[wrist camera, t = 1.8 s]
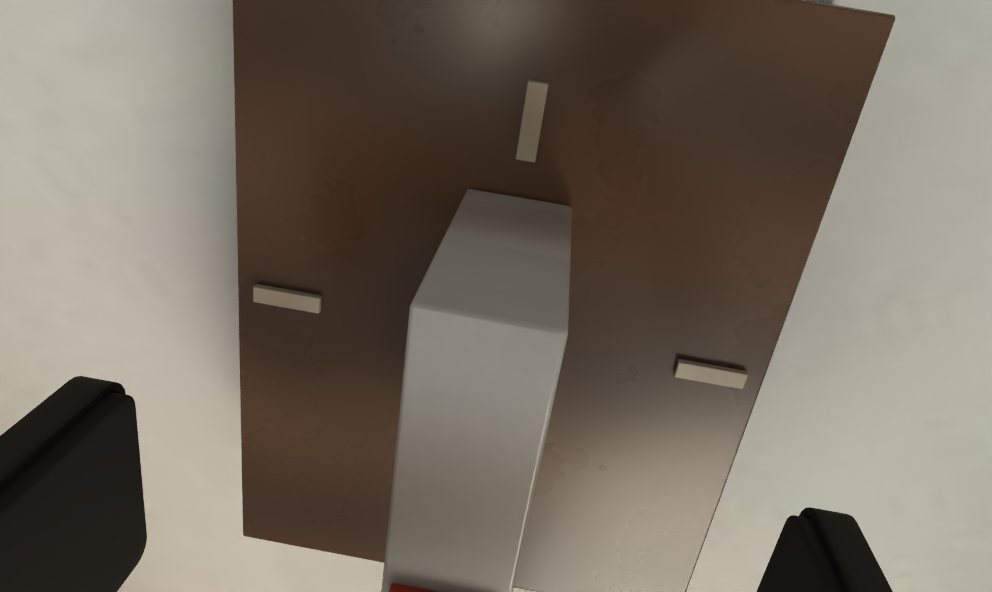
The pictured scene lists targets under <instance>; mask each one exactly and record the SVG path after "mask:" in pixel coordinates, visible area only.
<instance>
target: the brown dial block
mask: <svg viewBox="0 0 992 592" xmlns="http://www.w3.org/2000/svg"><path fill="white" fill-rule="evenodd" d="M894 21H895V16H894V15H890V14H884V13H879V12H873V11H867V10H861V9H855V8H849V7H844V6H838V5H832V4H825V3H819V2H813V1H807V0H233V32H234V83H235V134H236V185H237V237H238V288H239V339H240V390H241V441H242V492H243V535H244V536H247V537H253V538H258V539H263V540H268V541H274V542H279V543H284V544H289V545H295V546H300V547H305V548H310V549H316V550H321V551H326V552H331V553H337V554H342V555H347V556H352V557H358V558H363V559H368V560H374V561H379V562H384V561H385V551H386V541H387V531H388V521H389V511H390V501H391V491H392V481H393V471H394V461H395V451H396V441H397V431H398V421H399V411H400V401H401V391H402V381H403V371H404V361H405V351H406V341H407V331H408V321H409V311H410V305H411V303H412V301H413V299H414V297H415V295H416V293H417V291H418V289H419V287H420V285H421V283H422V280H423V278H424V276H425V274H426V272H427V270H428V268H429V266H430V264H431V262H432V260H433V258H434V256H435V254H436V252H437V250H438V248H439V246H440V244H441V242H442V240H443V238H444V236H445V234H446V232H447V230H448V228H449V226H450V224H451V222H452V220H453V218H454V216H455V213H456V211H457V209H458V207H459V205H460V203H461V201H462V199H463V197H464V195H465V193H466V191H467V190H468V189H473V190H479V191H485V192H490V193H496V194H502V195H508V196H514V197H520V198H525V199H531V200H537V201H543V202H549V203H555V204H561V205H566V206H570V207H571V208H572V223H571V255H570V287H569V319H568V336H567V341H566V346H565V350H564V355H563V360H562V364H561V369H560V374H559V378H558V383H557V388H556V392H555V397H554V402H553V406H552V411H551V416H550V420H549V425H548V430H547V434H546V439H545V444H544V448H543V453H542V458H541V462H540V467H539V472H538V476H537V481H536V486H535V490H534V495H533V500H532V504H531V509H530V514H529V518H528V523H527V528H526V532H525V537H524V542H523V546H522V551H521V556H520V560H519V565H518V570H517V574H516V579H515V583H514V587H515V588H521V589H526V590H531V591H536V592H686V590H687V587H688V584H689V582H690V579H691V576H692V574H693V571H694V568H695V565H696V563H697V560H698V557H699V554H700V552H701V549H702V546H703V543H704V541H705V538H706V535H707V532H708V530H709V527H710V524H711V522H712V519H713V516H714V513H715V511H716V508H717V505H718V502H719V500H720V497H721V494H722V491H723V489H724V486H725V483H726V480H727V478H728V475H729V472H730V470H731V467H732V464H733V461H734V459H735V456H736V453H737V450H738V448H739V445H740V442H741V439H742V437H743V434H744V431H745V428H746V426H747V423H748V420H749V418H750V415H751V412H752V409H753V407H754V404H755V401H756V398H757V396H758V393H759V390H760V387H761V385H762V382H763V379H764V376H765V374H766V371H767V368H768V366H769V363H770V360H771V357H772V355H773V352H774V349H775V346H776V344H777V341H778V338H779V335H780V333H781V330H782V327H783V324H784V322H785V319H786V316H787V314H788V311H789V308H790V305H791V303H792V300H793V297H794V294H795V292H796V289H797V286H798V283H799V281H800V278H801V275H802V272H803V270H804V267H805V264H806V262H807V259H808V256H809V253H810V251H811V248H812V245H813V242H814V240H815V237H816V234H817V231H818V229H819V226H820V223H821V221H822V218H823V215H824V212H825V210H826V207H827V204H828V201H829V199H830V196H831V193H832V190H833V188H834V185H835V182H836V179H837V177H838V174H839V171H840V169H841V166H842V163H843V160H844V158H845V155H846V152H847V149H848V147H849V144H850V141H851V138H852V136H853V133H854V130H855V127H856V125H857V122H858V119H859V117H860V114H861V111H862V108H863V106H864V103H865V100H866V97H867V95H868V92H869V89H870V86H871V84H872V81H873V78H874V75H875V73H876V70H877V67H878V65H879V62H880V59H881V56H882V54H883V51H884V48H885V45H886V43H887V40H888V37H889V34H890V32H891V29H892V26H893V23H894Z"/></svg>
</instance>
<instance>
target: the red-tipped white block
mask: <svg viewBox="0 0 992 592" xmlns="http://www.w3.org/2000/svg"><path fill="white" fill-rule="evenodd" d="M571 223H572V208H571V207H570V206H566V205H561V204H555V203H549V202H543V201H537V200H531V199H525V198H520V197H514V196H508V195H502V194H496V193H490V192H485V191H479V190H473V189H468V190H467V191H466V193H465V195H464V197H463V199H462V201H461V203H460V205H459V207H458V209H457V211H456V213H455V216H454V218H453V220H452V222H451V224H450V226H449V228H448V230H447V232H446V234H445V236H444V238H443V240H442V242H441V244H440V246H439V248H438V250H437V252H436V254H435V256H434V258H433V260H432V262H431V264H430V266H429V268H428V270H427V272H426V274H425V276H424V278H423V280H422V283H421V285H420V287H419V289H418V291H417V293H416V295H415V297H414V299H413V301H412V303H411V305H410V311H409V321H408V331H407V341H406V351H405V361H404V371H403V381H402V391H401V401H400V411H399V421H398V431H397V441H396V451H395V461H394V471H393V481H392V491H391V501H390V511H389V521H388V531H387V541H386V551H385V561H384V571H383V581H382V591H381V592H513V588H514V583H515V579H516V574H517V570H518V565H519V560H520V556H521V551H522V546H523V542H524V537H525V532H526V528H527V523H528V518H529V514H530V509H531V504H532V500H533V495H534V490H535V486H536V481H537V476H538V472H539V467H540V462H541V458H542V453H543V448H544V444H545V439H546V434H547V430H548V425H549V420H550V416H551V411H552V406H553V402H554V397H555V392H556V388H557V383H558V378H559V374H560V369H561V364H562V360H563V355H564V350H565V346H566V341H567V336H568V319H569V287H570V255H571Z"/></svg>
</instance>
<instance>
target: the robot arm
mask: <svg viewBox="0 0 992 592" xmlns="http://www.w3.org/2000/svg"><path fill="white" fill-rule="evenodd" d="M146 540H147V533H146V522H145V511H144V499H143V488H142V476H141V465H140V454H139V442H138V431H137V419H136V408H135V402H134V399H133V398H132V397H131V396H129V395H126V393H125V389H124V388H123V386H122V385H121V384H119V383H116V382H110V381H105V380H99V379H94V378H88V377H83V376H79V377H74V378H73V379H71V380H69V381H68V382H67V383H65V384H64V385H63V386H62V387H60V388H59V389H58V390H57V391H56V392H54V393H53V394H52V395H51V396H49V397H48V398H47V399H46V400H44V401H43V402H42V403H41V404H39V405H38V406H37V407H36V408H34V409H33V410H32V411H31V412H30V413H28V414H27V415H26V416H25V417H23V418H22V419H21V420H20V421H18V422H17V423H16V424H15V425H13V426H12V427H11V428H10V429H8V430H7V431H6V432H5V433H4V434H2V435H1V436H0V592H117V591H118V590H119V588H120V587H121V586H122V584H123V583H124V581H125V580H126V579H127V577H128V576H129V575H130V573H131V572H132V571H133V569H134V568H135V567H136V565H137V564H138V562H139V560H140V559H141V557H142V554H143V552H144V549H145V545H146ZM757 592H892V590H891V588H890V586H889V584H888V582H887V580H886V578H885V576H884V574H883V572H882V570H881V568H880V566H879V564H878V562H877V561H876V559H875V557H874V555H873V553H872V551H871V549H870V547H869V545H868V543H867V541H866V539H865V537H864V535H863V533H862V532H861V530H860V528H859V526H858V524H857V522H856V521H855V519H854V518H853V517H852V516H850V515H848V514H843V513H837V512H832V511H826V510H821V509H815V508H805V509H804V510H803V511H802V512H801V514H800V515H799V516H794V515H793V516H790V517H789V518H788V519H787V521H786V522H785V525H784V527H783V530H782V532H781V534H780V537H779V539H778V542H777V544H776V546H775V549H774V551H773V554H772V556H771V558H770V561H769V563H768V566H767V568H766V570H765V573H764V575H763V578H762V580H761V582H760V585H759V587H758V590H757Z"/></svg>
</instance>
